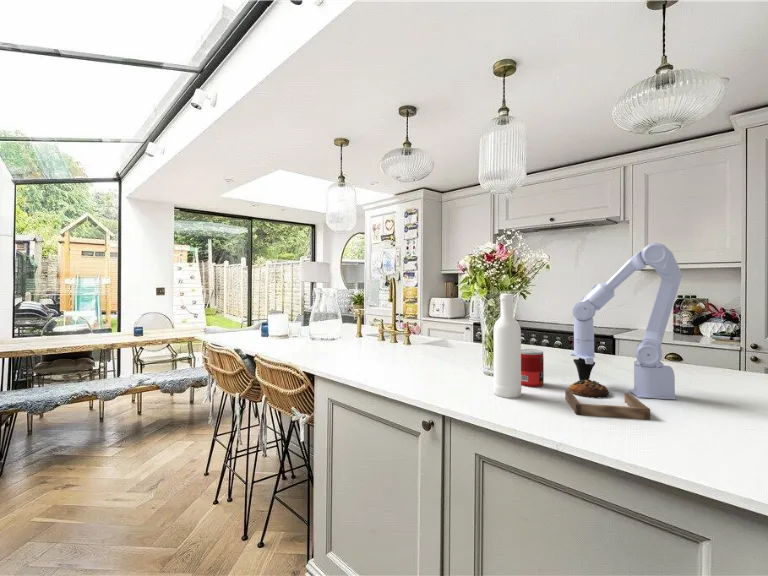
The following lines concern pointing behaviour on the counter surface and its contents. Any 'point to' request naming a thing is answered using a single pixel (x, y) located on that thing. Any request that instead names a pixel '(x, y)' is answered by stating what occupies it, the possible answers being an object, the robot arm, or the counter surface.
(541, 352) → the canned food
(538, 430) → the counter surface
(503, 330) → the bottle
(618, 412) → the wooden u-shaped frame
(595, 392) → the mushroom cheese tart
